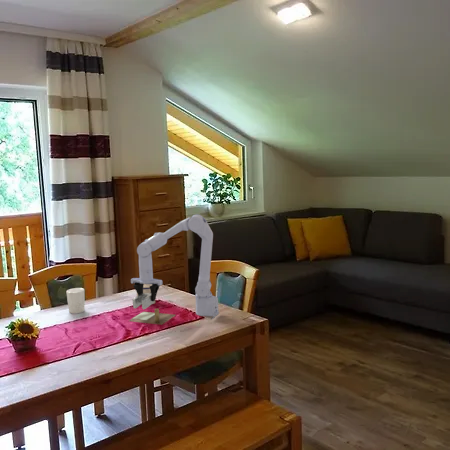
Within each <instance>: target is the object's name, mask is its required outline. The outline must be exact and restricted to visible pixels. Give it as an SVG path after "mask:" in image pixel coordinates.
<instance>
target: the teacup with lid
mask: <svg viewBox="0 0 450 450" xmlns="http://www.w3.org/2000/svg"><path fill="white" fill-rule="evenodd" d="M151 285H152V284H144V286H143V293H151V290H150V286H151ZM137 296H138V294H137V293H136V297H137ZM154 304H156V300H155V301H154V303H152V304H151V305H154Z"/></svg>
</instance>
